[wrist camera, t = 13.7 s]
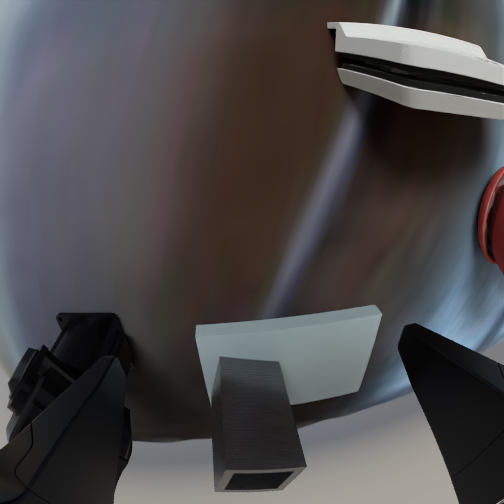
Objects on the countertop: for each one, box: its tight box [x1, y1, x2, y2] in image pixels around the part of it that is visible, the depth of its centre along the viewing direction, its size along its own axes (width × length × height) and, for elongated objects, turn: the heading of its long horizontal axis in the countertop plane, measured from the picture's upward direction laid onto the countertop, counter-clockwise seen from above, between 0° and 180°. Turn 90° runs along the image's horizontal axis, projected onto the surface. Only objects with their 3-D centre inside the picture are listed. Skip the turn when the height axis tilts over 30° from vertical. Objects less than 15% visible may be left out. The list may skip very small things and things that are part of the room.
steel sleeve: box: [211, 356, 307, 492], centre depth 19 cm, size 5×5×10 cm
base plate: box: [195, 305, 382, 405], centre depth 23 cm, size 16×11×4 cm
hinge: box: [327, 22, 504, 119], centre depth 12 cm, size 17×5×10 cm, turn 103°
